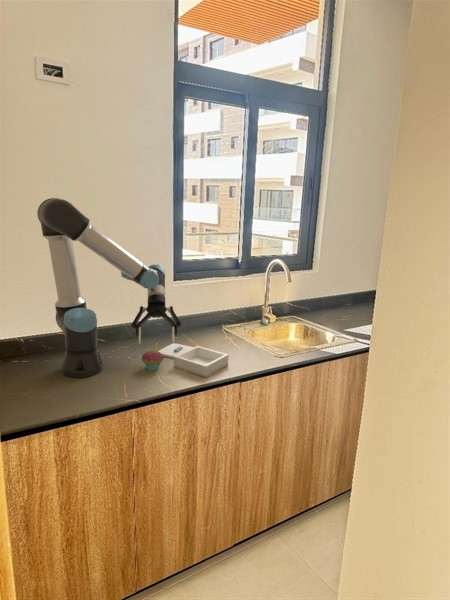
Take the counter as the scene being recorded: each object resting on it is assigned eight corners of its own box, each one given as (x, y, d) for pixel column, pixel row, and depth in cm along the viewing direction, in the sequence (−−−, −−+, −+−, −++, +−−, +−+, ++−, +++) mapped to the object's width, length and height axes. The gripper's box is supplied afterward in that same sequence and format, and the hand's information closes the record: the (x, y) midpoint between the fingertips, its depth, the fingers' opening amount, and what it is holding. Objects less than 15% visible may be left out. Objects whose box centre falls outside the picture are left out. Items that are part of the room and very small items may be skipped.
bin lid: (183, 360, 174) (184, 356, 174) (156, 354, 180) (156, 350, 179) (199, 350, 187) (199, 346, 186) (173, 344, 192) (173, 340, 192)
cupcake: (166, 366, 168) (166, 338, 165) (157, 374, 160) (158, 345, 157) (147, 363, 170) (147, 335, 168) (137, 370, 162) (137, 342, 160)
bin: (205, 378, 159) (206, 366, 158) (173, 367, 167) (173, 356, 166) (228, 365, 172) (228, 354, 171) (197, 356, 180) (197, 345, 179)
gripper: (184, 301, 183) (186, 345, 173) (127, 301, 179) (125, 347, 169) (186, 293, 177) (188, 338, 167) (126, 293, 173) (124, 339, 162)
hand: (156, 342), depth 168 cm, fingers open, 13 cm apart
